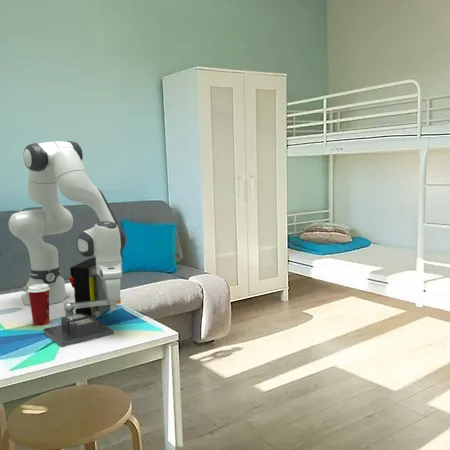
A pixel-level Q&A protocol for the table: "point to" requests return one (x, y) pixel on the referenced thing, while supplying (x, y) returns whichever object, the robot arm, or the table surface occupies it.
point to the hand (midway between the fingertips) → (111, 306)
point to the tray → (71, 339)
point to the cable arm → (87, 304)
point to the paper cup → (39, 303)
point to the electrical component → (88, 287)
